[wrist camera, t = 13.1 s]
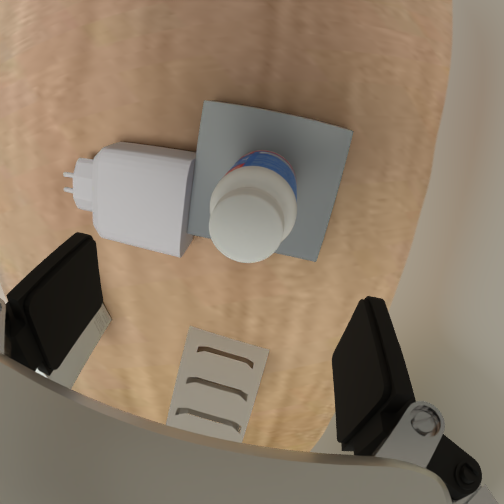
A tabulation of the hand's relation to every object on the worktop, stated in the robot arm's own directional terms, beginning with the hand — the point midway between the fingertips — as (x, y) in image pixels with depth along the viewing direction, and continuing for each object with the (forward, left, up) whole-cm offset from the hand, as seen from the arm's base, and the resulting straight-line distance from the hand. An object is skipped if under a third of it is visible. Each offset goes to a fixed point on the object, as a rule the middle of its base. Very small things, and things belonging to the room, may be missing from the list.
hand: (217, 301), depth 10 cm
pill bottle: (0, 0, -17) cm, 17 cm away
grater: (+26, -1, -20) cm, 33 cm away
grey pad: (0, 0, -19) cm, 19 cm away
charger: (+4, -13, -20) cm, 24 cm away
